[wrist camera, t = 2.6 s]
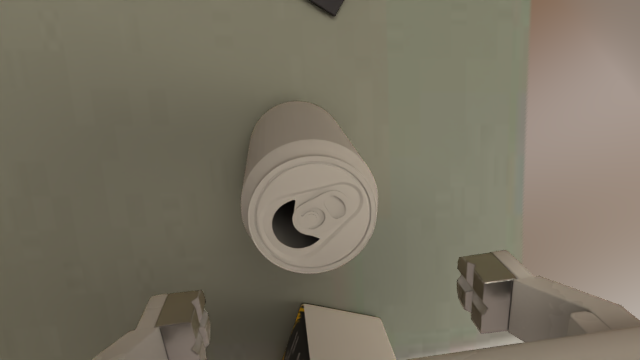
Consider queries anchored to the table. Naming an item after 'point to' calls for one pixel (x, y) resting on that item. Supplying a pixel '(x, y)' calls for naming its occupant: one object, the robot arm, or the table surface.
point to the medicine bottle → (337, 336)
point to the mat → (329, 5)
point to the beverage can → (306, 190)
